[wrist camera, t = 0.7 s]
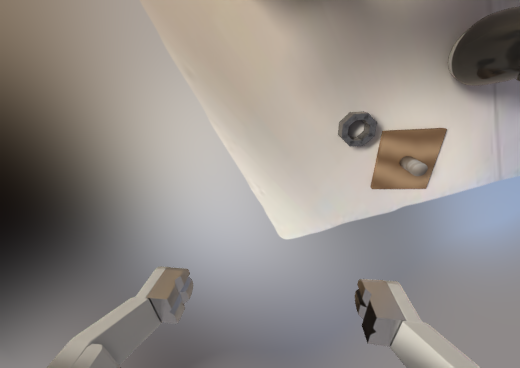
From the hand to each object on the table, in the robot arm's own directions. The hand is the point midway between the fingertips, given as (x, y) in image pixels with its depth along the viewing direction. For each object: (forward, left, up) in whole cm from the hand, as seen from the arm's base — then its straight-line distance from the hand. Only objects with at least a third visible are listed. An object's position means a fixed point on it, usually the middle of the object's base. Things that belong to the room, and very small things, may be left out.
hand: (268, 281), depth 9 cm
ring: (+1, +16, -40) cm, 43 cm away
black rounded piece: (-11, +34, -40) cm, 53 cm away
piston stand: (+9, +28, -40) cm, 49 cm away
